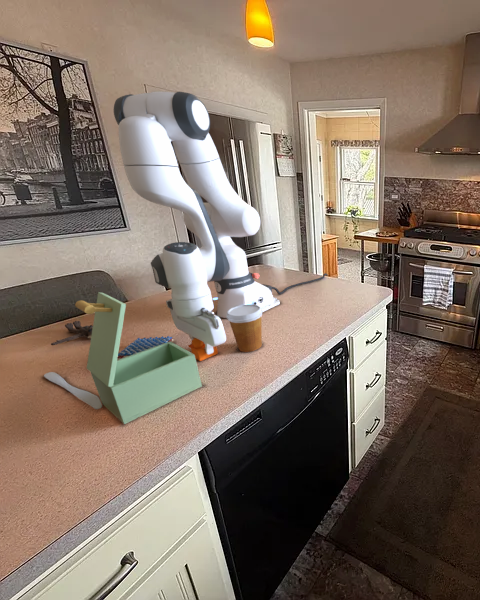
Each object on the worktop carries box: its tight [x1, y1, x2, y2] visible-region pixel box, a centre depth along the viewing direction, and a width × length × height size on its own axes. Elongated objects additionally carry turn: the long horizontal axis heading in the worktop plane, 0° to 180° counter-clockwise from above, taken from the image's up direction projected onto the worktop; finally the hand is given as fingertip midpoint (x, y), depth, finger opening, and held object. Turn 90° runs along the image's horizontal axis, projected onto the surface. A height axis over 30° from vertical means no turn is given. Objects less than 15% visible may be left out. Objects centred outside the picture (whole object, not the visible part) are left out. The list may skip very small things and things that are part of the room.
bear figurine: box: [50, 320, 93, 346], centre depth 102 cm, size 18×4×14 cm
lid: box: [74, 292, 127, 387], centre depth 63 cm, size 16×12×5 cm
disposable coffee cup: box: [225, 304, 264, 353], centre depth 95 cm, size 10×10×12 cm
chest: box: [90, 341, 203, 425], centre depth 74 cm, size 16×12×9 cm
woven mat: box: [117, 335, 175, 360], centre depth 93 cm, size 10×11×2 cm
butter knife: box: [43, 371, 103, 410], centre depth 76 cm, size 1×27×3 cm
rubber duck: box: [187, 338, 219, 362], centre depth 90 cm, size 6×4×6 cm, turn 147°
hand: (204, 350), depth 91 cm, fingers closed on rubber duck, 4 cm apart
